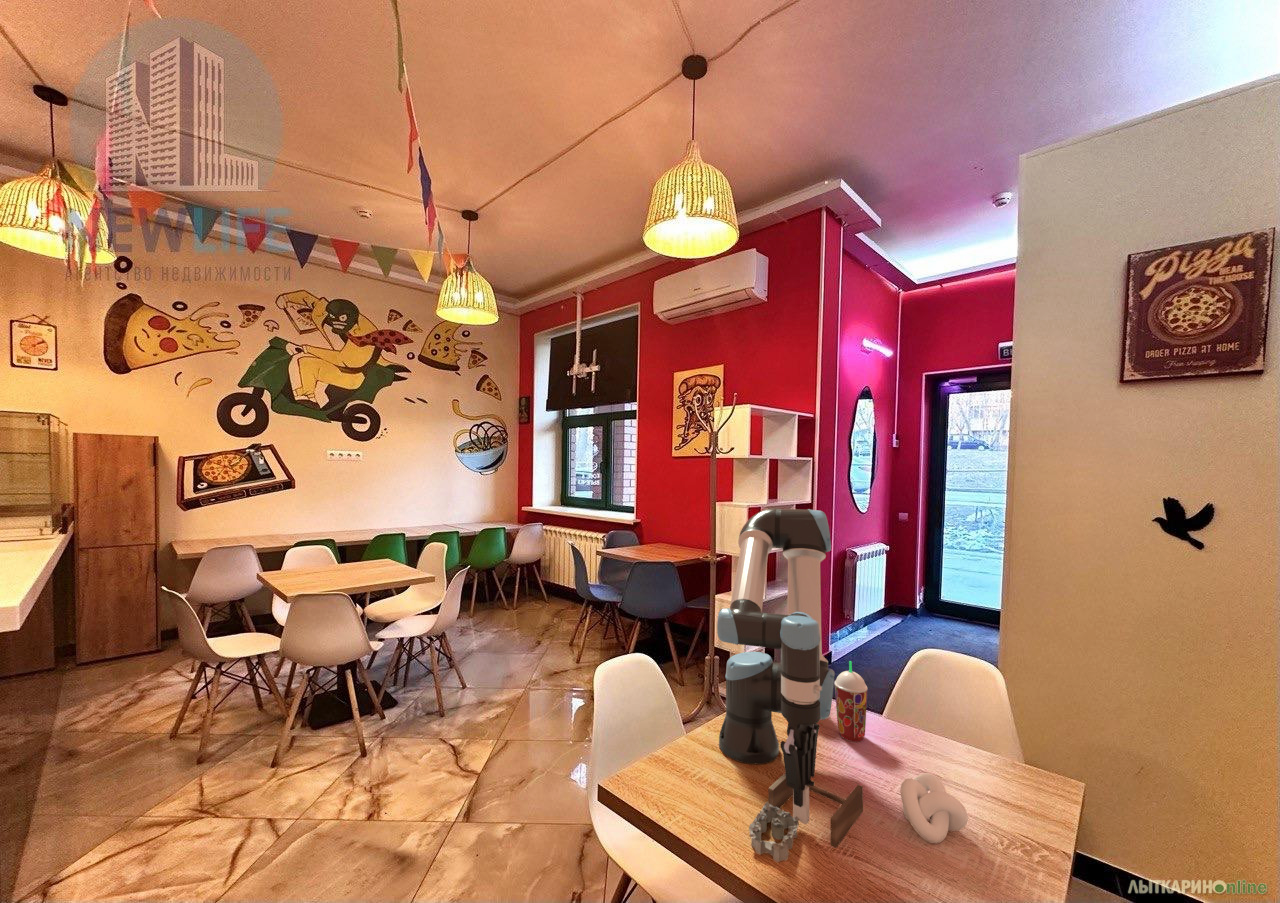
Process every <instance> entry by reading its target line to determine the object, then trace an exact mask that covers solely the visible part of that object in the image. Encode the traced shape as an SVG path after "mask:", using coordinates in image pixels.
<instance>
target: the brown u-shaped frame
mask: <svg viewBox="0 0 1280 903" xmlns="http://www.w3.org/2000/svg"><path fill="white" fill-rule="evenodd" d="M808 786H809V791H811V792H814V793H815V794H817V795H819V796H822V797H824V798H827V799H828V800H831V801H833V802H835V803H838V804H839V805H840V806H839V807H838V809H836V811H834V813H833V814H832V816H831V817H830V847H833V848H835V849H837V848H838V846H839V845H840V843H841V842H842V841H843V840H844V838H845V837H846V836H847V834H848V833H849V831H850V830H851V828H852V827H853V826H854V824H855V823H856V822H857V820H858V819H859V818H860V816H861V815H862V814H863V812H864V789H863V788H864V787H863V786H862V785H860V784H857V785H856V786H855V787H854V789H852V791H851V792H850V794H849V795H848V796H847V797H846V798H843V797H841V796H838V795H836V794H835V793H832V792H830V791H828V790H826V789H823V788H821V787H819V786H817V785H814V786H810V785H808ZM791 798H793V788H791V787H789V786H787V781H786V773H785V772H784V773H783V774H782V775H781V776H780V777H779V778H777V779H776V780H775V781H774V782H773V783H772V784H771V785H770V786H769V787H768V803H769V804H771V805H772V806H773V807H778V808H779V809H781V808H782V807H783V806H784V804H786V803H787V802H788V801H789V800H790V799H791Z"/></svg>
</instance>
